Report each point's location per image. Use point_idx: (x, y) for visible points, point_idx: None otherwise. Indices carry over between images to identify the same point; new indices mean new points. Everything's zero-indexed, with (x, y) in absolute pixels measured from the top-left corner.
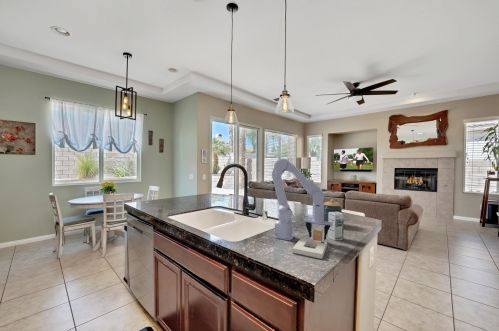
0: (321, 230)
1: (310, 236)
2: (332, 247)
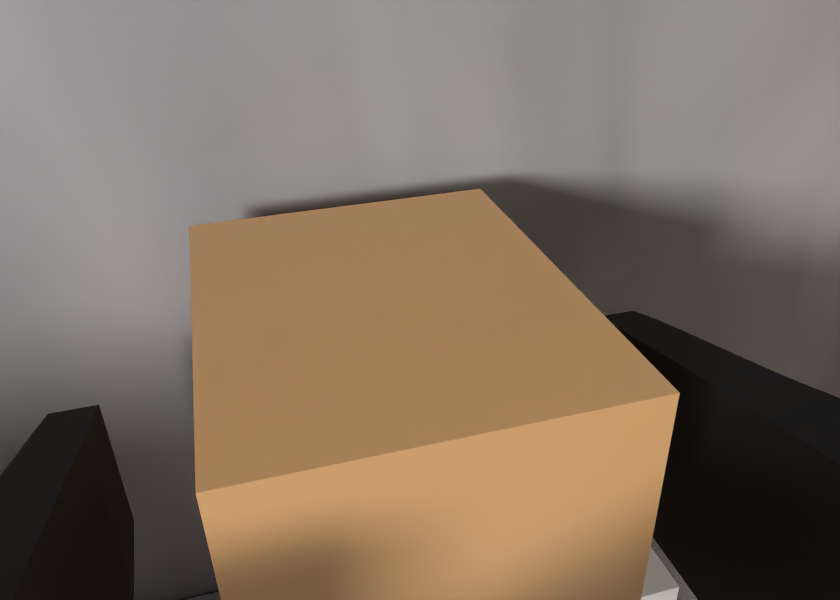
0: (627, 484)
1: (129, 570)
2: None
